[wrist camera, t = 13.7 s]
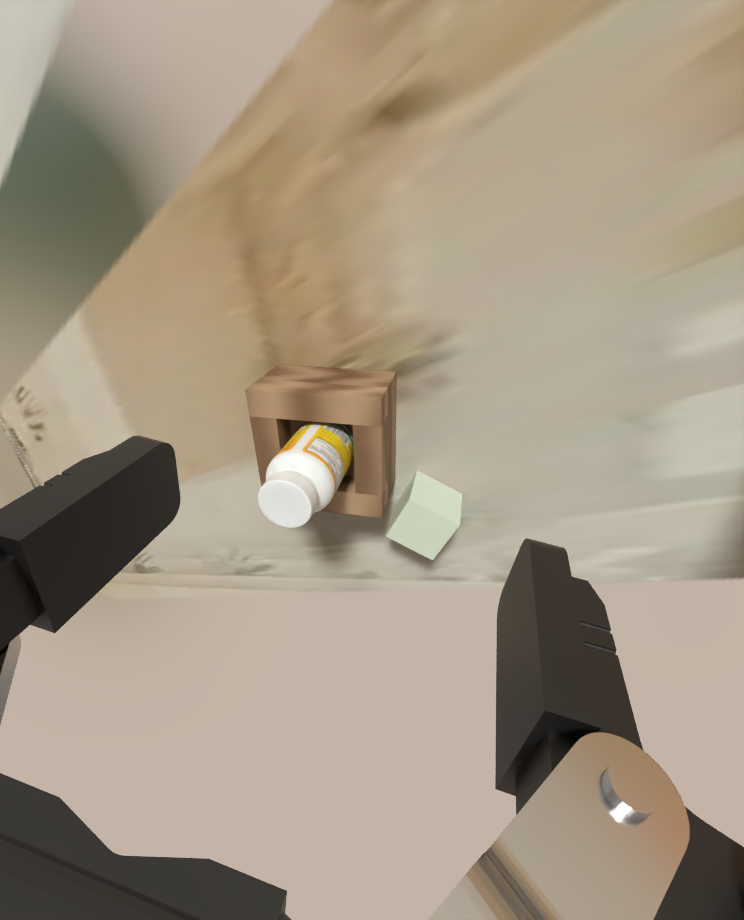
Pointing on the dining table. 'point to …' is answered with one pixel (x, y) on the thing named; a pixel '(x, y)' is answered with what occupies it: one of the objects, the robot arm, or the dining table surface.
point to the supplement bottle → (306, 473)
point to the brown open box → (332, 401)
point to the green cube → (425, 516)
